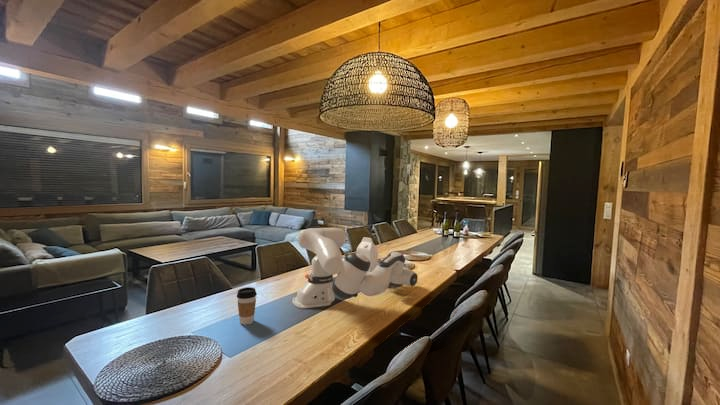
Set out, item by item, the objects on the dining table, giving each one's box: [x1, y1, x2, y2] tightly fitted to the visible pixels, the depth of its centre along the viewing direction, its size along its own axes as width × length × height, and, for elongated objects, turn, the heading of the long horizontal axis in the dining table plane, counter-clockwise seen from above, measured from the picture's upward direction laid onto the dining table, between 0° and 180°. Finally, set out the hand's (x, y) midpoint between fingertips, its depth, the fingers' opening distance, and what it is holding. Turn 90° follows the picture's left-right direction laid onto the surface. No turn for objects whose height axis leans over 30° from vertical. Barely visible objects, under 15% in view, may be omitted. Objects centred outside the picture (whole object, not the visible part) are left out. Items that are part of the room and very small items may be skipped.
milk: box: [356, 236, 379, 274], centre depth 206 cm, size 12×12×26 cm
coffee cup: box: [236, 287, 257, 326], centre depth 135 cm, size 8×8×15 cm
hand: (382, 266), depth 191 cm, fingers open, 8 cm apart
